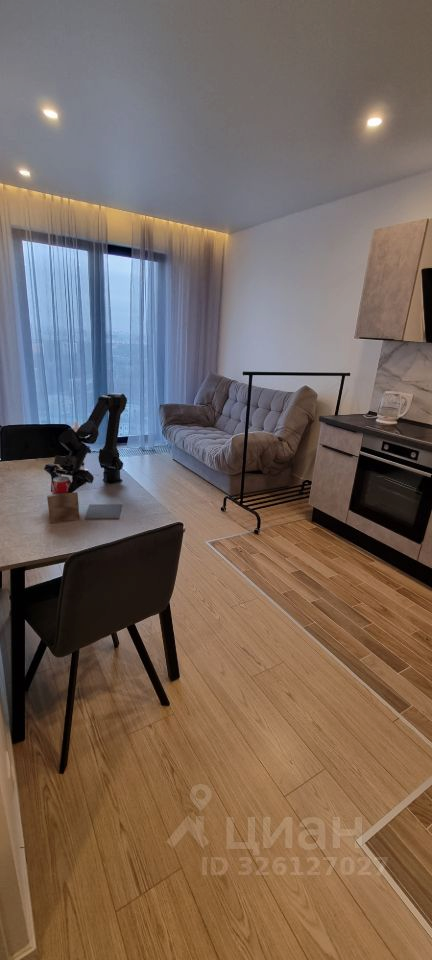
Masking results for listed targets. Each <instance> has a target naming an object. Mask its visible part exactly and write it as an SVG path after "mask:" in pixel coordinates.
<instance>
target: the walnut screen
mask: <svg viewBox="0 0 432 960" xmlns="http://www.w3.org/2000/svg"><path fill="white" fill-rule="evenodd" d="M46 499H47V505H48V506H47V507H48V516H49V520H48V521H49V524H56V523H63V522H71V521H81V516H80V509H79V508H80V506H79V494H78V491H74V492H73V493H64V494H53V495H52V494H47V496H46Z"/></svg>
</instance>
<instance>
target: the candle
mask: <svg viewBox="0 0 432 960" xmlns="http://www.w3.org/2000/svg"><path fill="white" fill-rule="evenodd" d="M80 426H81V425H80V424H79V423H78V420H77V419H75V423H74V424H73V425H72V426H71V429H73V430H74V431H75V432H76V431H77V430H78V429H79V427H80ZM83 463H84V466H81V468H80V469H81V470H87V471H89V469H88V468H86V464H85V460H84V461H83Z"/></svg>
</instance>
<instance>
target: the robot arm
mask: <svg viewBox="0 0 432 960" xmlns="http://www.w3.org/2000/svg"><path fill="white" fill-rule="evenodd" d="M127 403H128V398H127V396H125V394H124V393H119V392H118V393H117V392H109V393H108V394H103V395H100V396H98V397H97V402H96V404H95V406H94V408H93V409H92V411H91V413H90V415H89V416H88V418H87V420H86V422H84V423H82V424H81V425H80V427H79V429H78V430H77V431H76V432H75V431H74V430H73V429H72V428H69V427H67V430H65V431H63V432H62V433H61V434H59V436H58V442H59V444H61V445H62V446H63V447H64V448H65V449H66V450H67V451H69V453H68V454H66V455H65V456H61V455H55V456H54V461H53V464H52V463H46V464H45V465H44V468H43V470H44V471H45V472H46V473H48V474H49V475H50V477H51V483H50V484H51V485H50V492H51V493H52V482H53V478H55V477H59V476H67V477H72V478H71V480H72V481H71V485H70V487H69V489H68V492H67V493H74V492H76V490H78V489H79V488H81V487H82V486H84V485H86V484H87V483H88V484H93V482H94V480H95V478H94V475H93V474H92V473H91V472H90V471H89V470H88V471H87V470H81V469H80V468H81V466H84V463H83V461H84V462H85V458H86V457H87V454H92V451H91V447H90V445H94V444H95V443H96V442H97V440H98V437H99V435H100V432H99V428H100V426H101V424H102V421H103V419H104V418H105V417H106V414H107V412H108V417H107V418H108V419H107V427H106V435H105V442H104V446H103V447H102V448H100V449H99V451H98V453H99V454H98V463H99V465H100V468H102V469H103V474H102V475H103V476H102V477H103V478H102V481H103V482H106V483H107V484H110V485H112V484H116V483H120V482H123V479H122V478H121V470H122V469H123V467H124V462H123V461H122V460H121V458H120V453H119V450H118V448H117V445H118V438H119V429H120V422H121V415H122V414H123V412H125V410H126V407H127ZM86 444H88V445H86ZM58 465H59V466H58Z"/></svg>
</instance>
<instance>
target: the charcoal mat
mask: <svg viewBox="0 0 432 960" xmlns="http://www.w3.org/2000/svg"><path fill="white" fill-rule="evenodd" d="M121 511H122V504H121V503H114V504H113V503H112V504H110V503H105V504H104V503H101V504H98V503H97V504H89V505H88V508H87V511H86V514H85V516H84V521H89V520H92V521H93V520H119V519H120V515H121Z"/></svg>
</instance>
